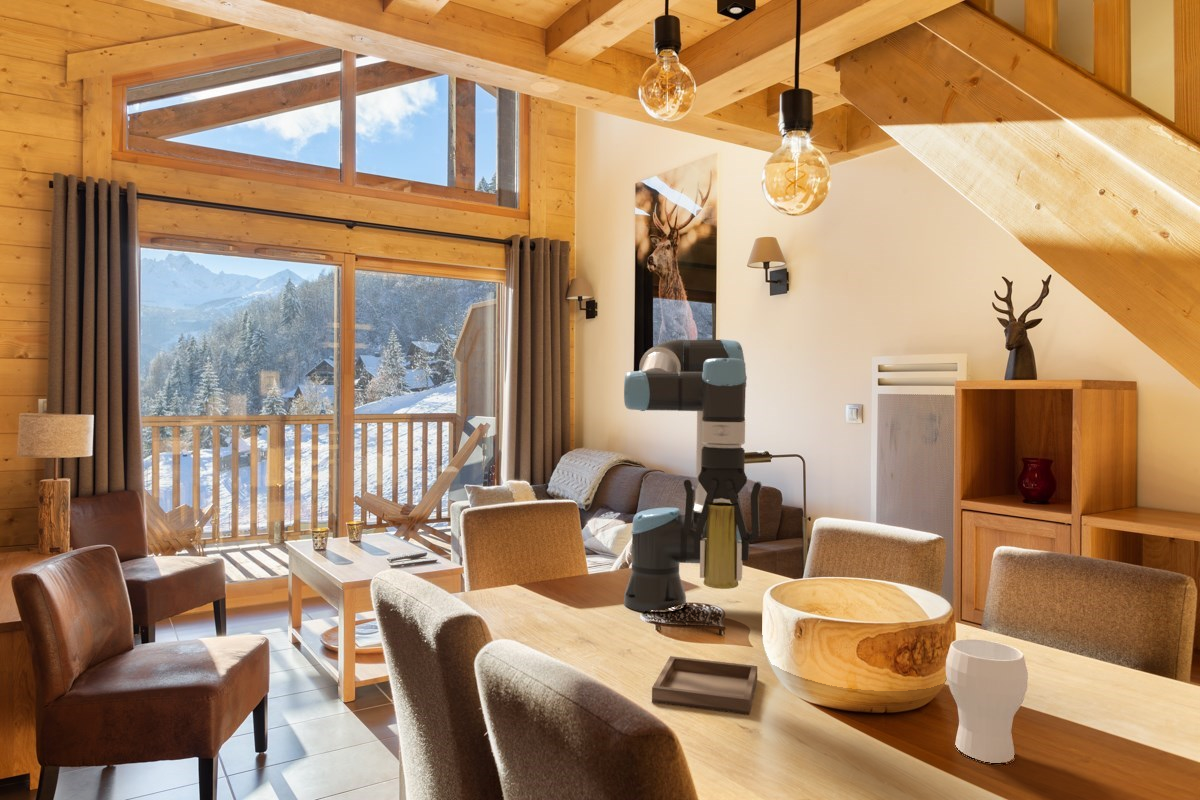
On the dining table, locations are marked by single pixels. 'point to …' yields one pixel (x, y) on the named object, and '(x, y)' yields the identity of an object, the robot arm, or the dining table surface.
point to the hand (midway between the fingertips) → (721, 577)
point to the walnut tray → (706, 685)
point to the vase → (721, 547)
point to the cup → (986, 696)
